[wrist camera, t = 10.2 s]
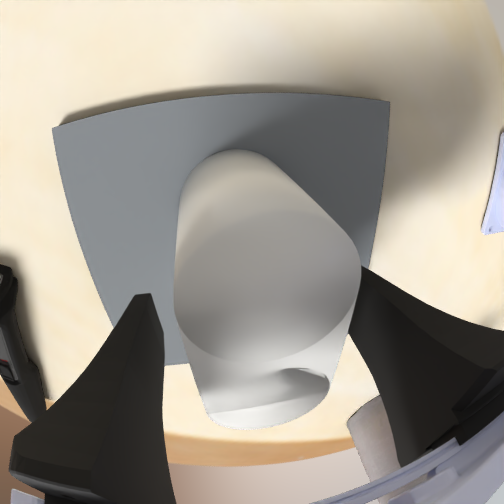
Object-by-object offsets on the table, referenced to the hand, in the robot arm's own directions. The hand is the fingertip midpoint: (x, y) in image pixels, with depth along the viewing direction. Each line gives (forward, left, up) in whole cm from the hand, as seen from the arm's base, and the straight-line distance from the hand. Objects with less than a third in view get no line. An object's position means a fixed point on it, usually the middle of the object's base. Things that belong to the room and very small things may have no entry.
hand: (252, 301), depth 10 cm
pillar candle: (-16, +25, -4) cm, 30 cm away
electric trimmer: (+16, +6, -4) cm, 18 cm away
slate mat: (0, 0, -4) cm, 4 cm away
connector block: (0, 0, -3) cm, 3 cm away
